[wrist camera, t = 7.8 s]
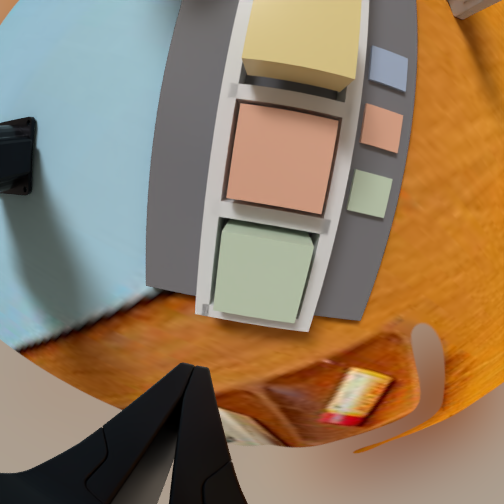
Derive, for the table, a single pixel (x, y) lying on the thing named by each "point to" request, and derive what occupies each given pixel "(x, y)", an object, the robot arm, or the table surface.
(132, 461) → the robot arm
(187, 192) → the keypad base
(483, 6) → the cassette
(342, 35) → the key ochre
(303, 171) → the key terracotta
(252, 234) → the key sage
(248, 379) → the table surface
